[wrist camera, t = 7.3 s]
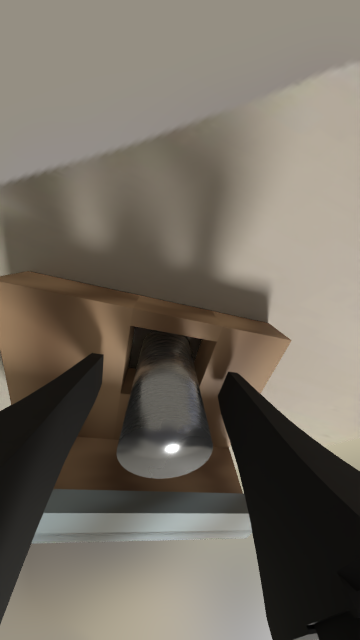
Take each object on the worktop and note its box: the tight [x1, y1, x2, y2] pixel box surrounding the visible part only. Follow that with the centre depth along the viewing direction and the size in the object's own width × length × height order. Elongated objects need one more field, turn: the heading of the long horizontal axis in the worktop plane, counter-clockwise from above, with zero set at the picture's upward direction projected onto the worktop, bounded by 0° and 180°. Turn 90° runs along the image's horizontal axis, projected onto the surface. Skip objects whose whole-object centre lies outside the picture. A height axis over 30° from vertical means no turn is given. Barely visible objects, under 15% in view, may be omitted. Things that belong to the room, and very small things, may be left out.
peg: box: [116, 330, 213, 479], centre depth 9 cm, size 4×4×7 cm
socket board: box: [0, 271, 291, 543], centre depth 10 cm, size 16×12×7 cm
